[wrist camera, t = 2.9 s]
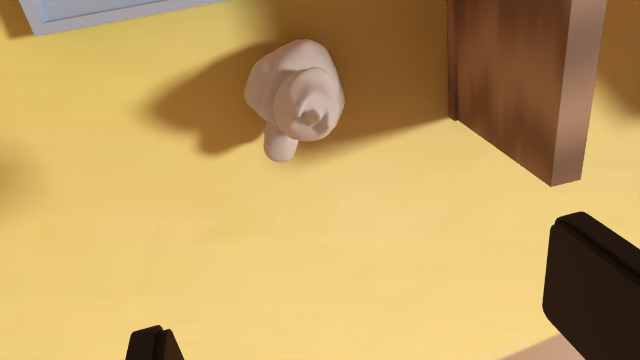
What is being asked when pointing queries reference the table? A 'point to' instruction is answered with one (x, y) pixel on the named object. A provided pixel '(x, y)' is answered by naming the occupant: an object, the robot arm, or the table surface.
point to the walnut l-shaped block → (526, 78)
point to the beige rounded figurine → (295, 96)
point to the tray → (94, 12)
